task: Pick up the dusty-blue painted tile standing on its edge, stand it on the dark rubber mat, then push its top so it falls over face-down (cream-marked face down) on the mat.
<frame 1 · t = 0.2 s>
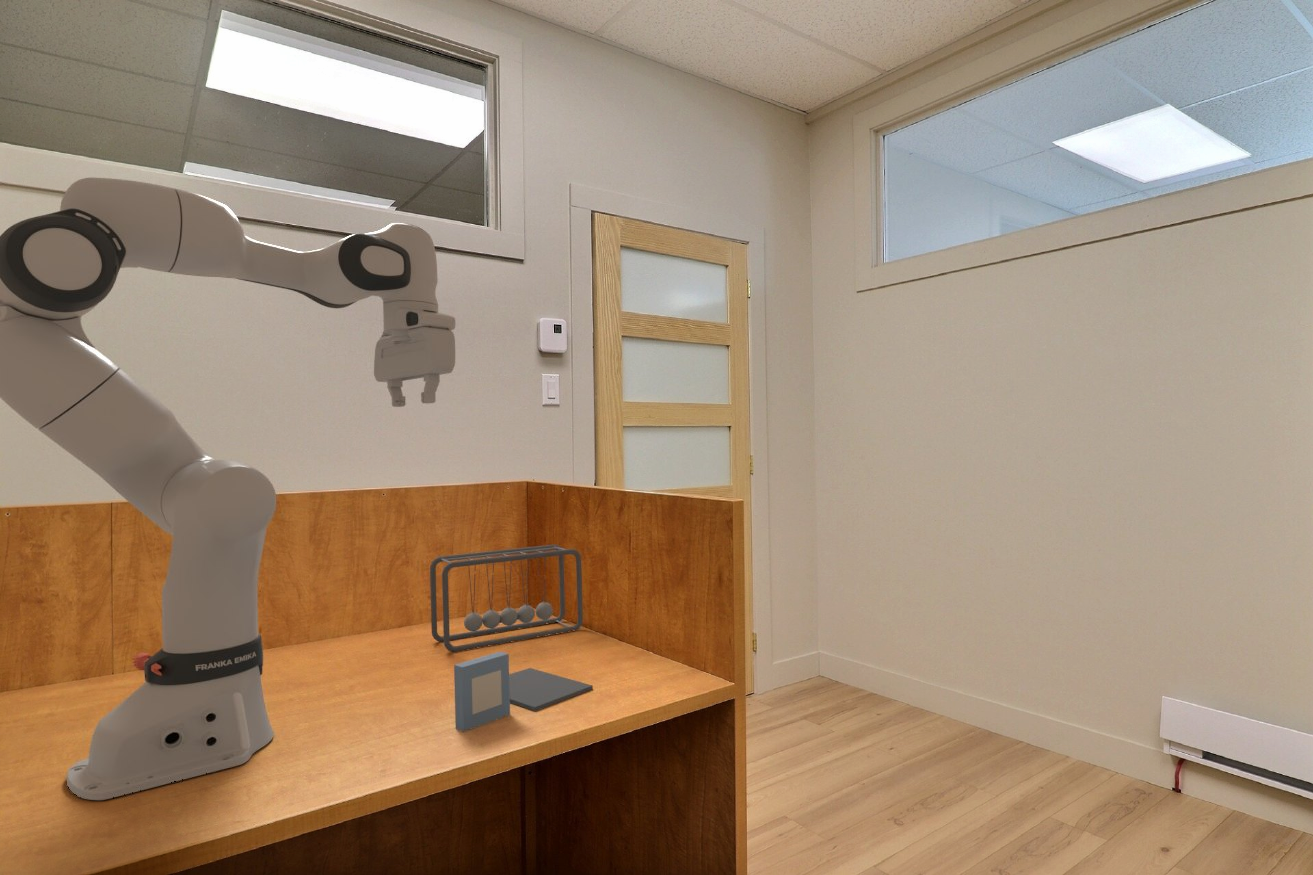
hand: (413, 405, 120), 47 cm above the table, tool pointing down, fingers open, 8 cm apart
mat: (532, 689, 116), on the table
newton's cradle: (509, 637, 151), on the table
tile: (483, 721, 103), on the table
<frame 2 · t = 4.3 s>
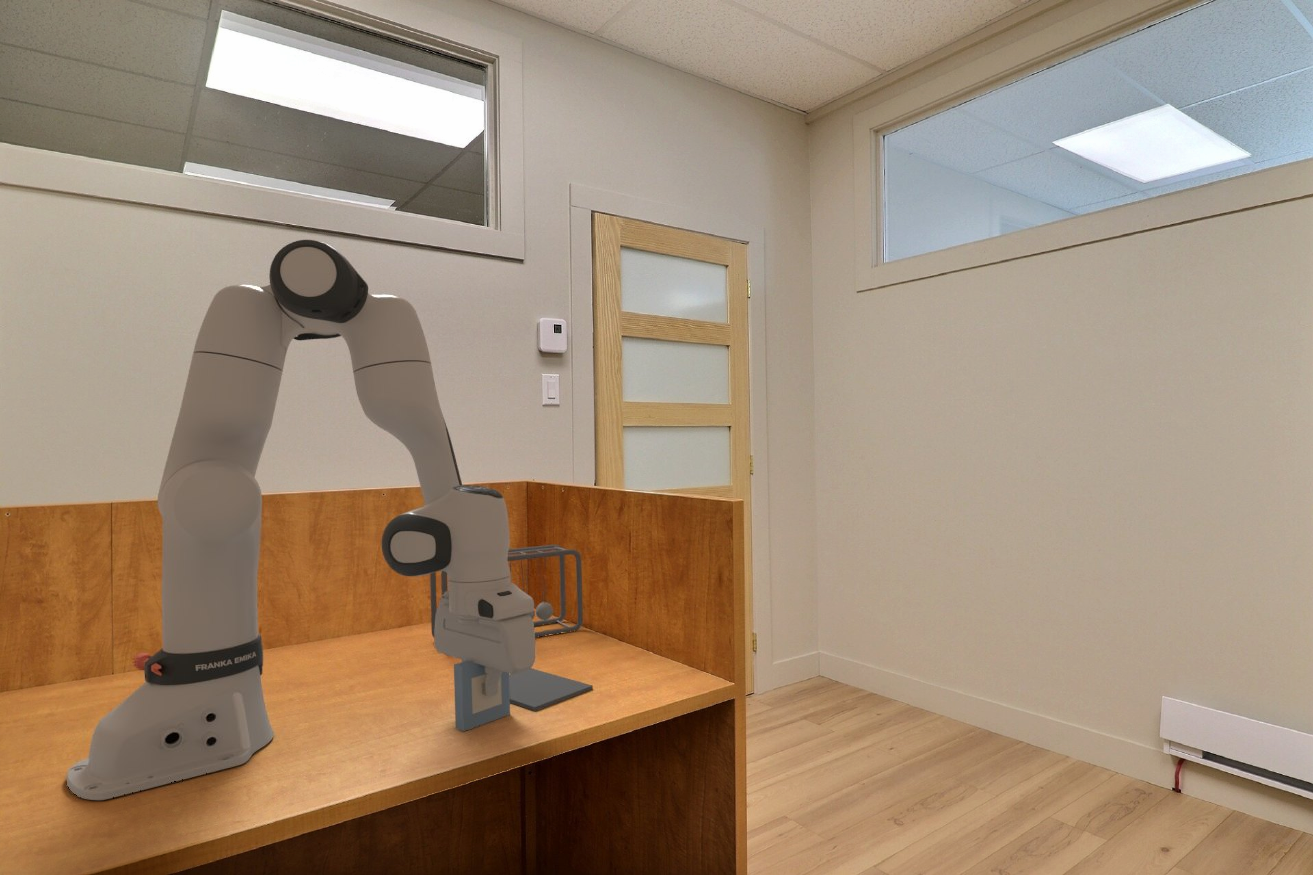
hand: (482, 692, 103), 4 cm above the table, tool pointing down, fingers closed on tile, 2 cm apart
tile: (483, 721, 103), on the table, touching gripper
everything else where it was.
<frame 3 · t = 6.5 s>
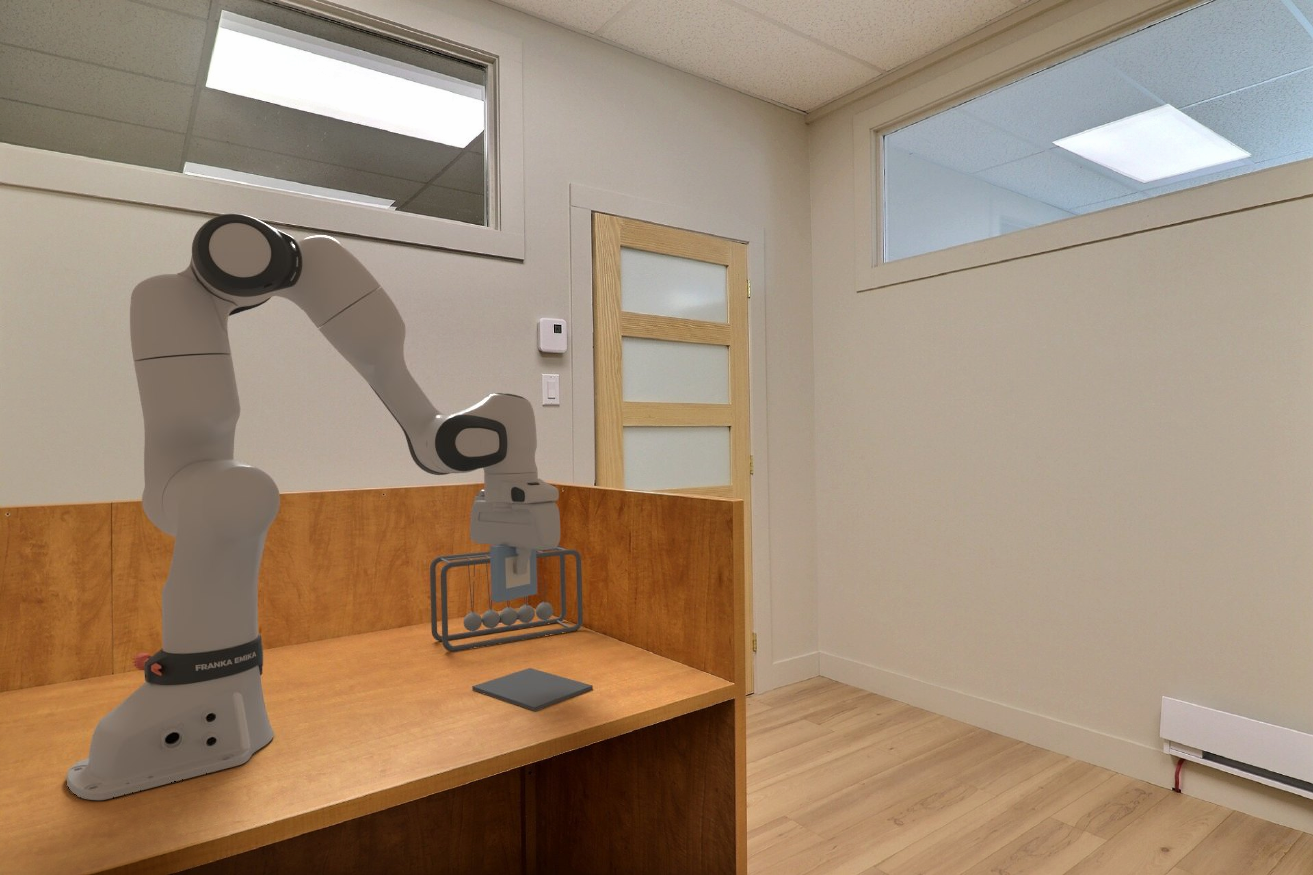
hand: (513, 573, 119), 19 cm above the table, tool pointing down, fingers closed on tile, 2 cm apart
tile: (514, 597, 119), point 15 cm above the table, touching gripper
everything else where it was.
when the fingers open (5 cm above the table, at t = 9.1 s): tile stays where it is, resting on mat.
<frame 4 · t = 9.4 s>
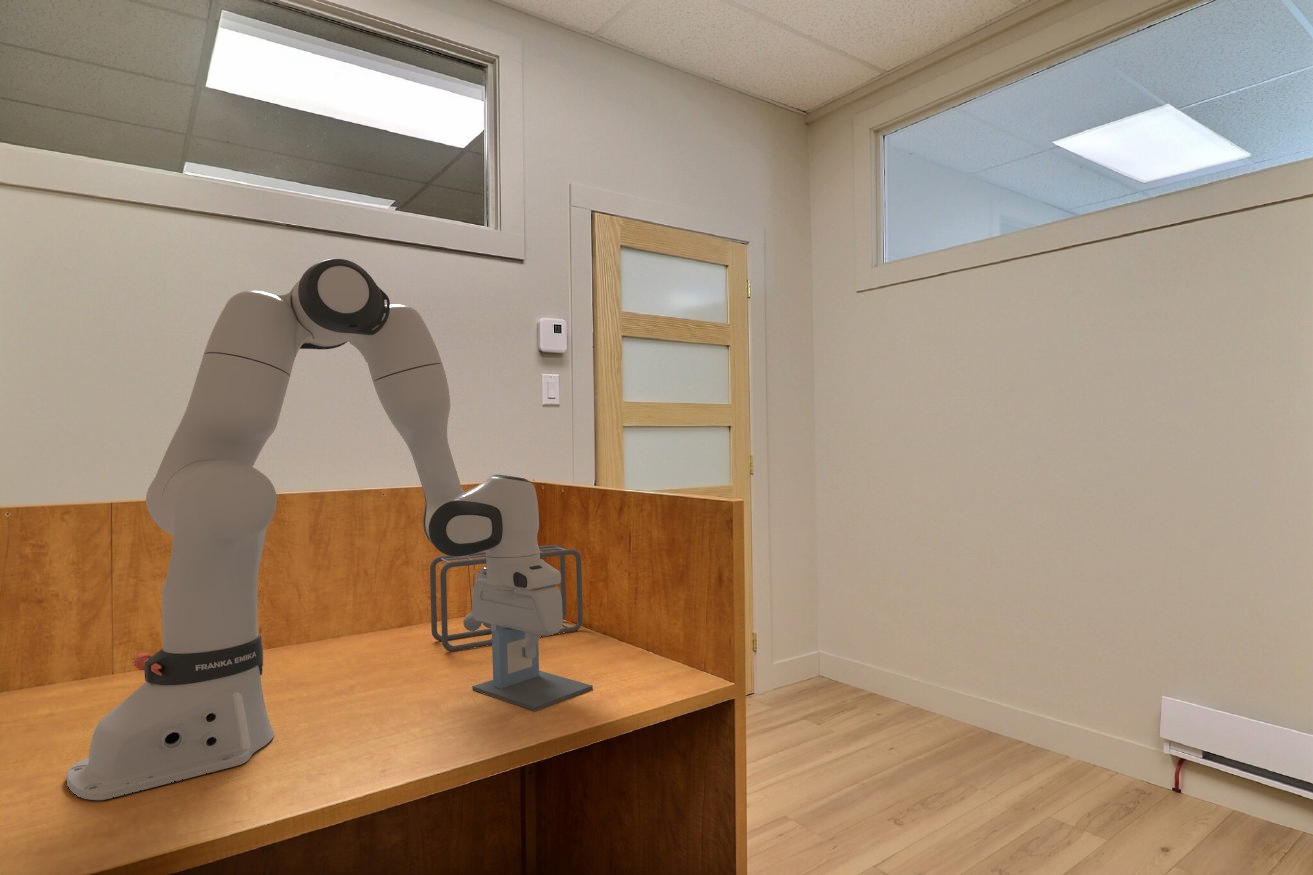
hand: (515, 654, 119), 5 cm above the table, tool pointing down, fingers open, 5 cm apart
tile: (516, 681, 119), point 1 cm above the table, touching mat
everything else where it was.
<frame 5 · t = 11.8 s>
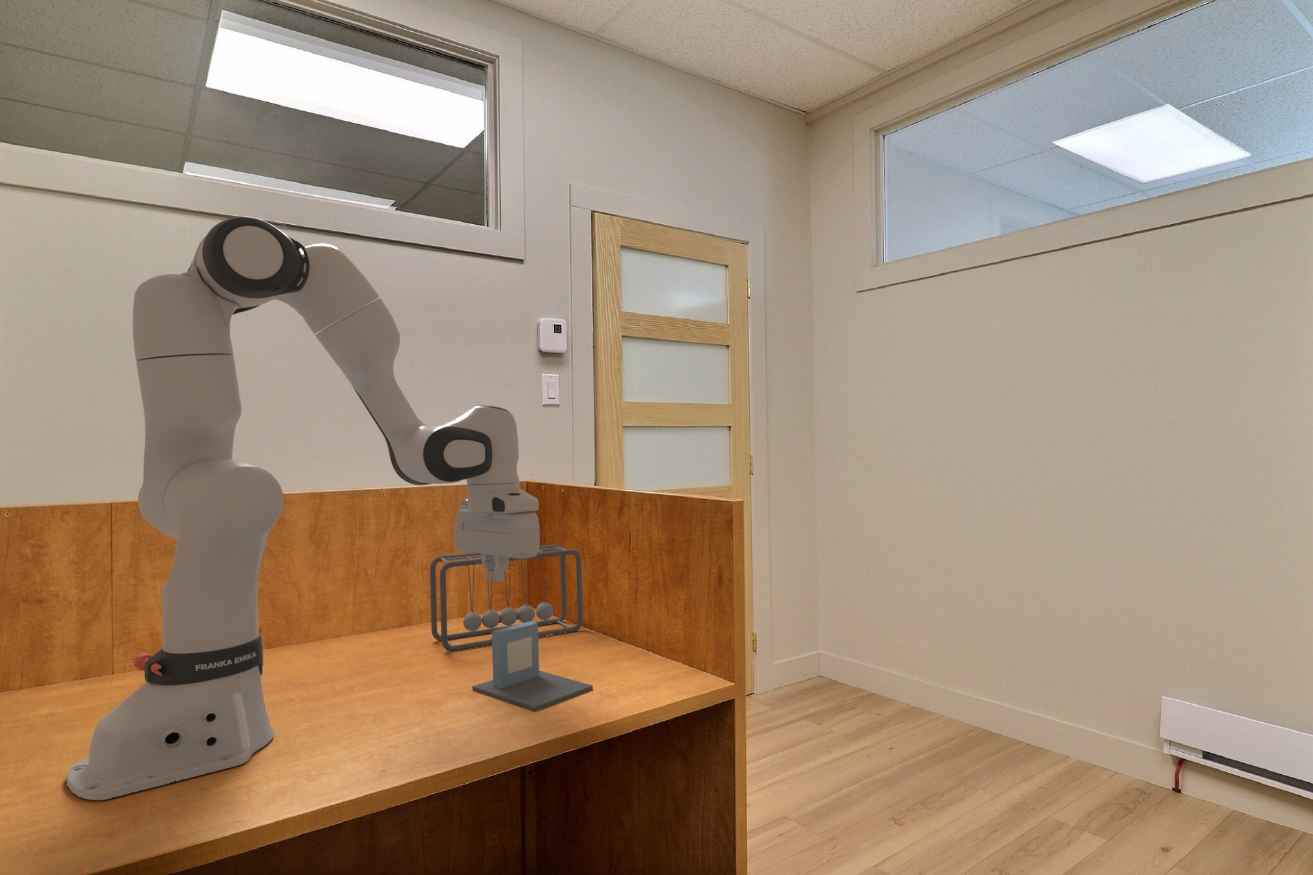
hand: (495, 580, 122), 17 cm above the table, tool pointing down, fingers closed
nothing on the table moved.
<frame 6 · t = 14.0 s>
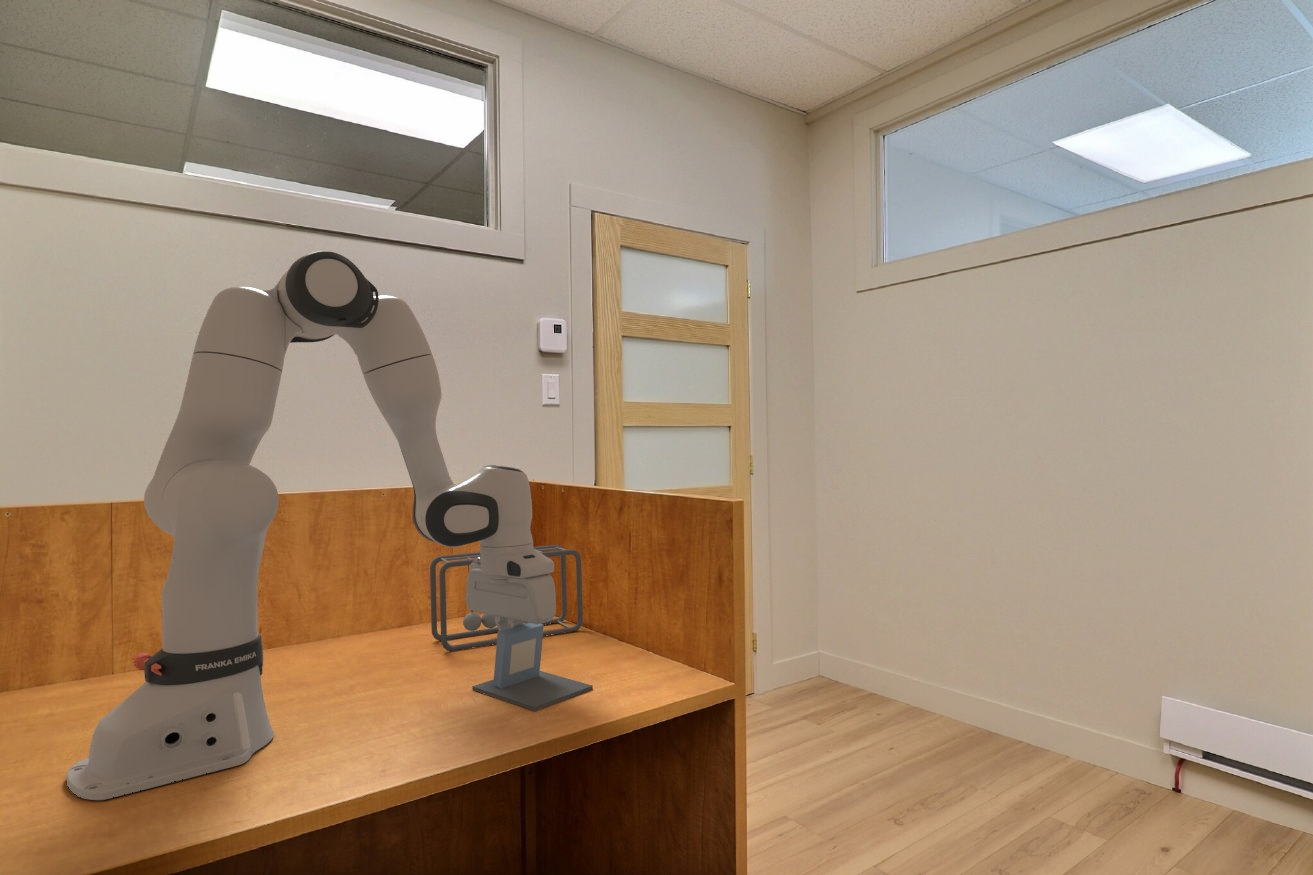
hand: (509, 642, 120), 7 cm above the table, tool pointing down, fingers closed
tile: (516, 680, 119), point 1 cm above the table, tilted 10°, touching mat
everything else where it was.
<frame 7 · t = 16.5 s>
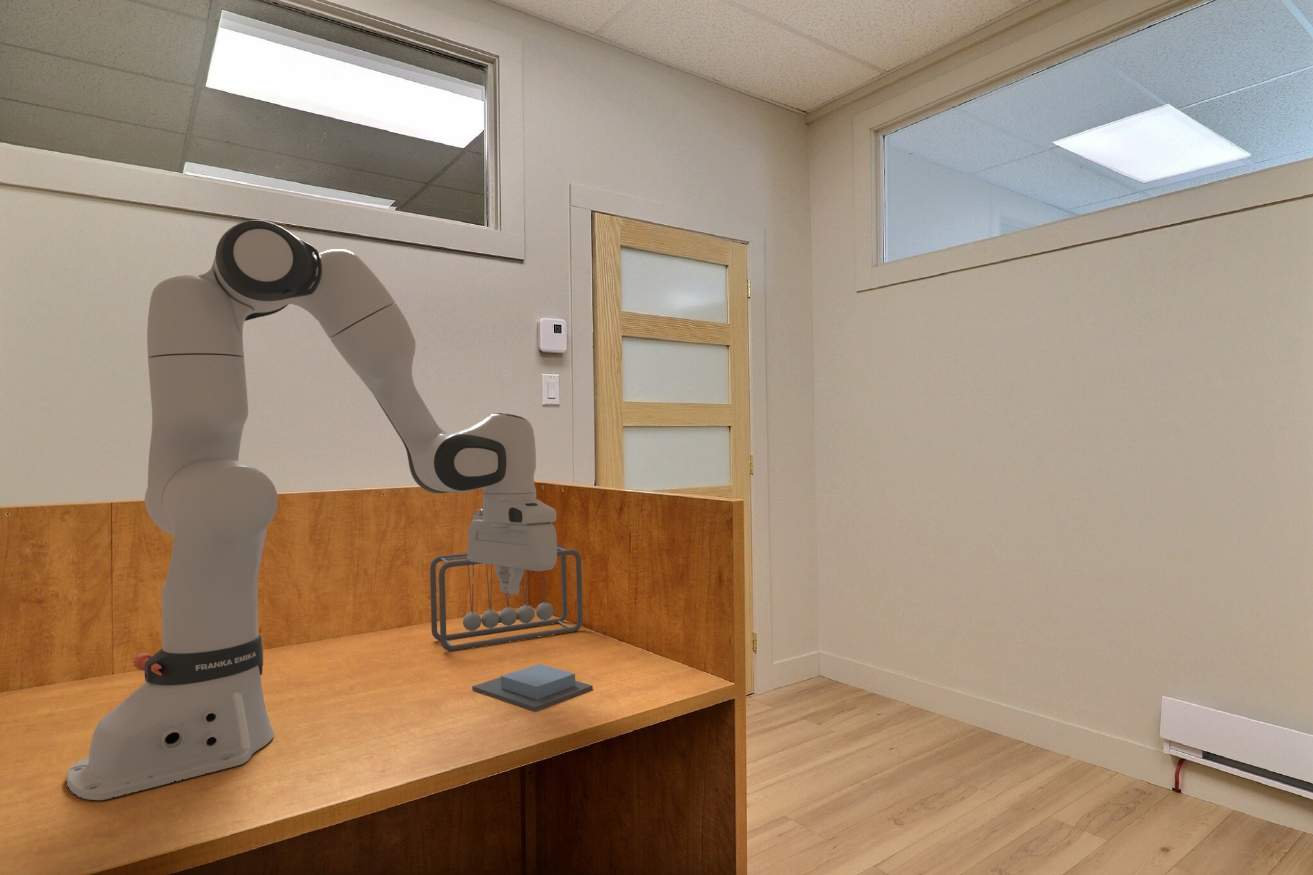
hand: (509, 593, 119), 15 cm above the table, tool pointing down, fingers closed
tile: (520, 675, 118), point 2 cm above the table, tilted 90°, touching mat
everything else where it was.
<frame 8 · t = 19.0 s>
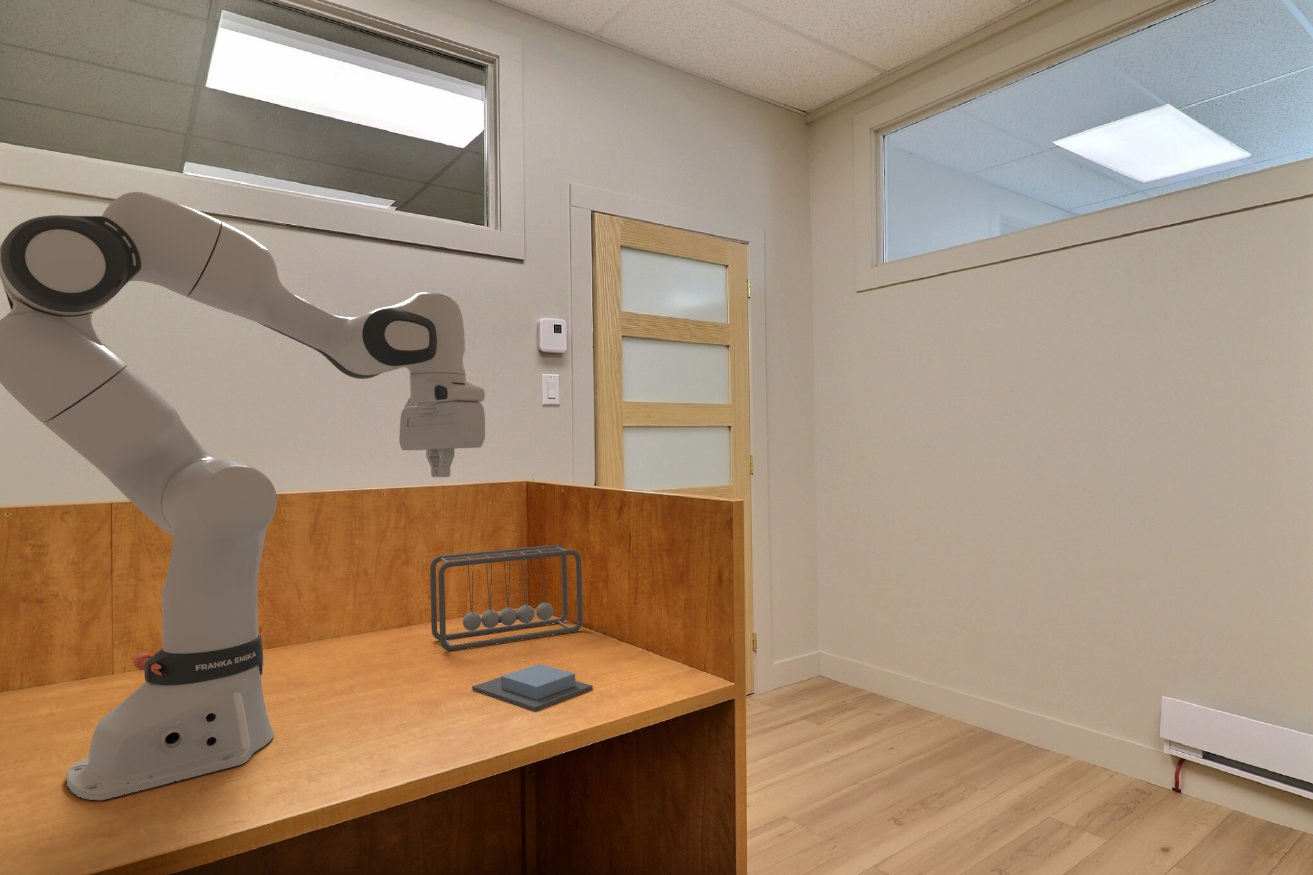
hand: (440, 477, 117), 35 cm above the table, tool pointing down, fingers closed
nothing on the table moved.
at the end: tile tilted 90°; tile inside the target area on the mat (3.0 cm from its centre), point 1.7 cm above the mat's base; the gripper is holding nothing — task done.
